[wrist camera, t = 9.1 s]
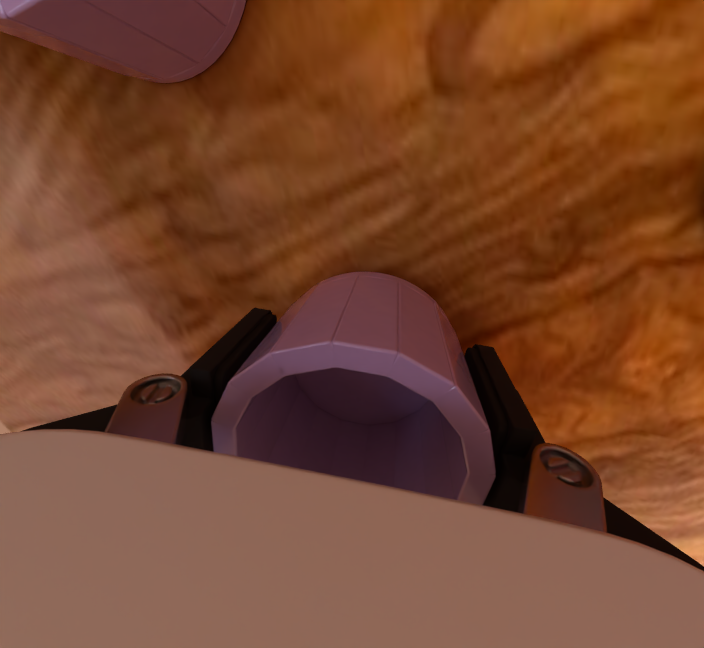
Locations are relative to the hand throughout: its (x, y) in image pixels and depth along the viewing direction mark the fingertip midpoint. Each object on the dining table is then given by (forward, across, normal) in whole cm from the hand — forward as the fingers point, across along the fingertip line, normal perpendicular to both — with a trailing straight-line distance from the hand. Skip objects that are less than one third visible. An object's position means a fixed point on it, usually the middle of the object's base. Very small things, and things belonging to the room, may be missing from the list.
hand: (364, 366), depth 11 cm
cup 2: (+1, 0, 0) cm, 1 cm away
